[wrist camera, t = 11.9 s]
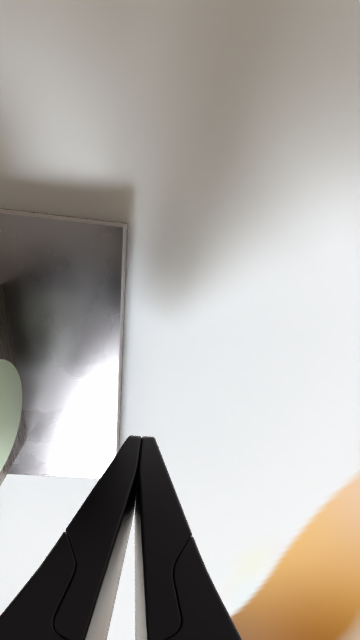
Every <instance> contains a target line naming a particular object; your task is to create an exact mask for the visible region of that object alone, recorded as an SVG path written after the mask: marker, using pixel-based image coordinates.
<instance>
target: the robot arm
mask: <svg viewBox="0 0 360 640" xmlns="http://www.w3.org/2000/svg"><path fill="white" fill-rule="evenodd" d="M135 501H136V503H135ZM134 509H135V640H242V639H241V637H240V635H239V633H238V631H237V629H236V627H235V625H234V623H233V621H232V619H231V617H230V616H229V614H228V612H227V610H226V608H225V606H224V604H223V602H222V600H221V598H220V596H219V594H218V592H217V590H216V588H215V586H214V584H213V582H212V580H211V578H210V576H209V574H208V572H207V569H206V567H205V565H204V562H203V560H202V558H201V555H200V553H199V550H198V548H197V545H196V543H195V540H194V538H193V537H192V533H191V530H190V528H189V525H188V522H187V520H186V517H185V515H184V512H183V509H182V507H181V504H180V502H179V499H178V497H177V494H176V491H175V489H174V486H173V484H172V481H171V478H170V476H169V473H168V471H167V468H166V466H165V463H164V460H163V458H162V455H161V453H160V450H159V447H158V445H157V442H156V440H155V438H154V437H146V436H144V437H142V438H141V437H140V436H129V437H128V438H127V439H126V441H125V442H124V444H123V445H122V447H121V448H120V450H119V451H118V453H117V454H116V456H115V457H114V459H113V460H112V462H111V463H110V465H109V466H108V468H107V469H106V471H105V472H104V474H103V475H102V476H101V478H100V479H99V481H98V482H97V484H96V485H95V487H94V488H93V490H92V491H91V493H90V494H89V496H88V497H87V499H86V500H85V502H84V503H83V505H82V506H81V508H80V509H79V511H78V512H77V514H76V515H75V516H74V518H73V519H72V521H71V522H70V524H69V525H68V527H67V528H66V532H64V533H63V534H62V536H61V537H60V538H59V540H58V541H57V543H56V544H55V546H54V547H53V549H52V550H51V552H50V553H49V554H48V556H47V557H46V559H45V560H44V561H43V563H42V564H41V566H40V567H39V568H38V569H37V571H36V572H35V573H34V575H33V576H32V577H31V578H30V580H29V581H28V582H27V583H26V585H25V586H24V587H23V589H22V590H21V591H20V592H19V593H18V595H17V596H16V597H15V598H14V600H13V601H12V602H11V603H10V604H9V606H8V607H7V608H6V609H5V611H4V612H3V613H2V614H1V615H0V640H107V635H108V631H109V626H110V621H111V617H112V612H113V608H114V603H115V598H116V594H117V589H118V585H119V580H120V575H121V571H122V566H123V561H124V557H125V552H126V548H127V543H128V538H129V534H130V529H131V525H132V520H133V515H134Z"/></svg>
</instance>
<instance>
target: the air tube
mask: <svg viewBox="0 0 360 640" xmlns="http://www.w3.org/2000/svg"><path fill="white" fill-rule="evenodd" d="M21 411H22V385H21V380H20V376H19V374H18V371H17V370H16V368H15V367H14V365H13V364H12V363H10V362H9V361H7V360H3V359H0V472H1V470H2V468H3V466H4V465H5V463H6V461H7V459H8V456H9V454H10V452H11V449H12V447H13V444H14V441H15V438H16V435H17V431H18V427H19V423H20V417H21Z"/></svg>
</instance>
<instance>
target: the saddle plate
mask: <svg viewBox="0 0 360 640" xmlns="http://www.w3.org/2000/svg"><path fill="white" fill-rule="evenodd" d="M126 248H127V223H118V222H110V221H101V220H92V219H84V218H75V217H67V216H58V215H49V214H41V213H32V212H24V211H15V210H7V209H0V359H3V360H7V361H9V362H10V363H12V364H13V365H14V367H15V368H16V370H17V371H18V374H19V376H20V380H21V385H22V411H21V417H20V423H19V427H18V431H17V435H16V438H15V441H14V444H13V447H12V449H11V452H10V454H9V456H8V459H7V461H6V463H5V465H4V466H3V468H2V470H1V472H0V485H1V484H2V482H3V480H4V478H5V477H6V475H7V474H22V475H42V476H61V477H81V478H101V476H102V475H103V474H104V472H105V471H106V469H107V468H108V466H109V465H110V463H111V462H112V460H113V459H114V457H115V456H116V454H117V453H118V451H119V431H120V405H121V379H122V353H123V327H124V301H125V274H126Z"/></svg>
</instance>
